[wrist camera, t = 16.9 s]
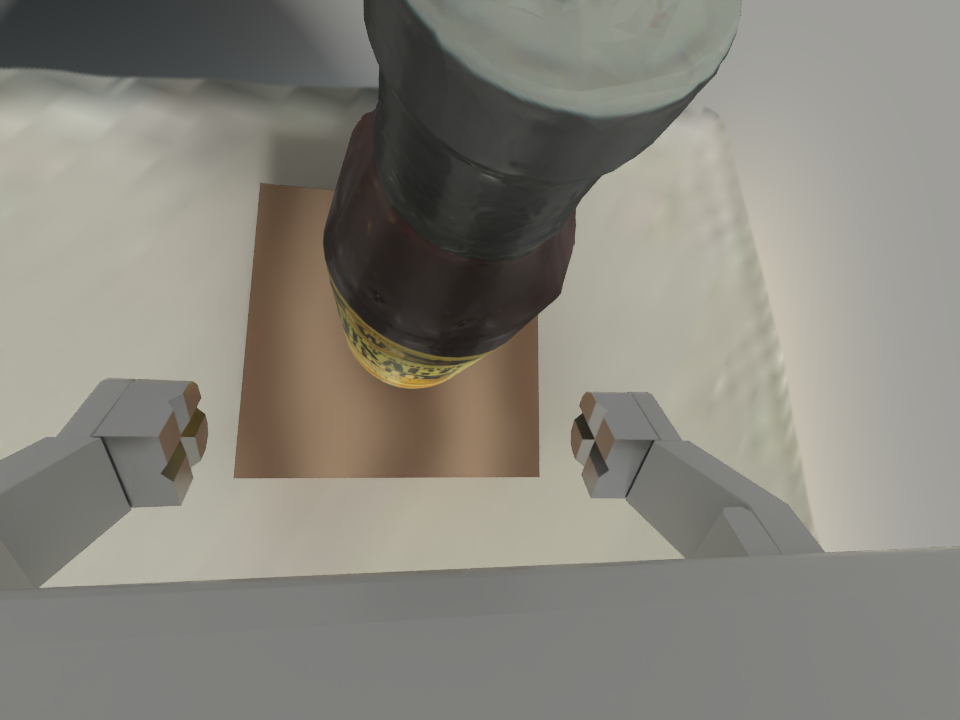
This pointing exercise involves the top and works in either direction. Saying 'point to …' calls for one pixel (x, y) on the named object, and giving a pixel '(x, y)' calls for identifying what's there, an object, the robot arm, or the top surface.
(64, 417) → the top surface
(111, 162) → the top surface
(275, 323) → the block
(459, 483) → the top surface
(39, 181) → the top surface
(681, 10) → the sauce bottle
